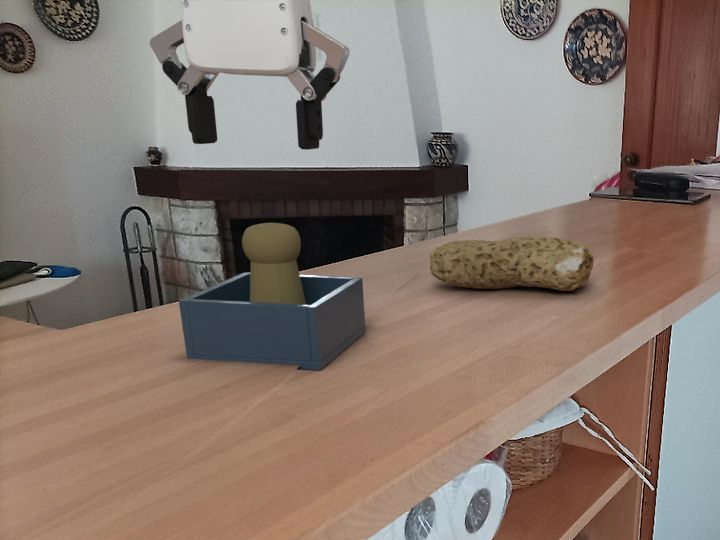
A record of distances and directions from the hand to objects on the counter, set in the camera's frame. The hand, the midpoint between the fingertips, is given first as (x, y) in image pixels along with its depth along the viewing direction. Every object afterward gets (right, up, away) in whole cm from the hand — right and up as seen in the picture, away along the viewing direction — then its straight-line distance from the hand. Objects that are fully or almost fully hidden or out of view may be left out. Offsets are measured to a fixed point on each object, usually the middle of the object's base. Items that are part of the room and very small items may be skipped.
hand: (257, 145), depth 69 cm
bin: (0, -17, +7) cm, 19 cm away
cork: (0, -17, +7) cm, 18 cm away
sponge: (+21, -8, +33) cm, 40 cm away
